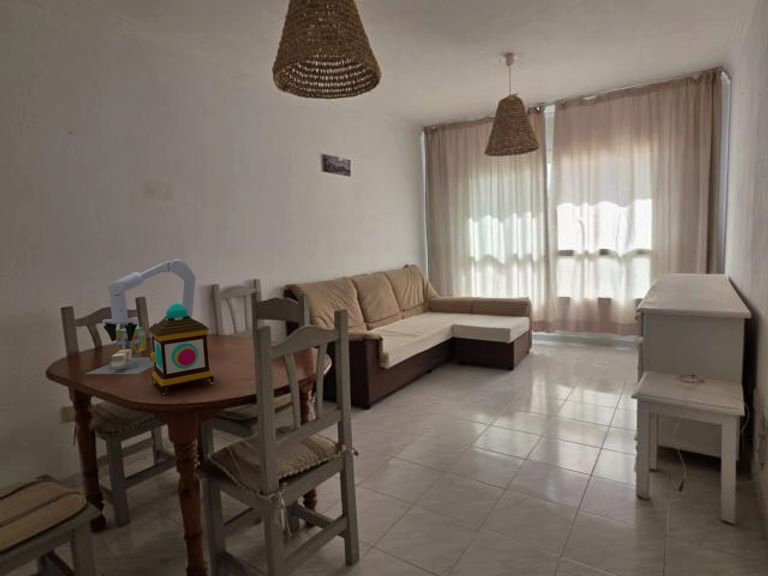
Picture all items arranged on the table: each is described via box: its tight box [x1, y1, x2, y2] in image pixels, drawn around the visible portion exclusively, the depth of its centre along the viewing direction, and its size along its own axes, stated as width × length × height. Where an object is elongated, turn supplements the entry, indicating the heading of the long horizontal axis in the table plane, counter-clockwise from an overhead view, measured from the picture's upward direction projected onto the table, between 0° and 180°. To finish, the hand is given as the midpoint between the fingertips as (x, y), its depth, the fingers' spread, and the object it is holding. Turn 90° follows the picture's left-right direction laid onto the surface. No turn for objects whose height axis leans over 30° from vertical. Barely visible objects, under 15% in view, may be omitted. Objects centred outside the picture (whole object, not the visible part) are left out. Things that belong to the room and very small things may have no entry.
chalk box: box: [115, 322, 148, 355], centre depth 213 cm, size 9×9×15 cm
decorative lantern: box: [147, 302, 215, 395], centre depth 162 cm, size 20×20×30 cm
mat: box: [85, 356, 155, 375], centre depth 190 cm, size 22×24×1 cm
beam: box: [111, 349, 134, 366], centre depth 184 cm, size 12×4×4 cm, turn 13°
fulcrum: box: [109, 361, 138, 370], centre depth 185 cm, size 10×4×3 cm, turn 85°
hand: (122, 340), depth 192 cm, fingers open, 7 cm apart
